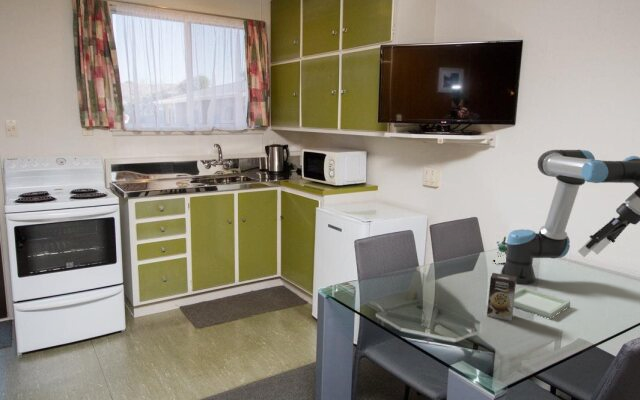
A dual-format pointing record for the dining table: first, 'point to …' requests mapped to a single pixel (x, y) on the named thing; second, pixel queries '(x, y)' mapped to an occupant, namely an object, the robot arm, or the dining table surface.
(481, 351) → the dining table surface
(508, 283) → the coffee box
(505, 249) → the frog figurine
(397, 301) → the dining table surface
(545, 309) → the tray
